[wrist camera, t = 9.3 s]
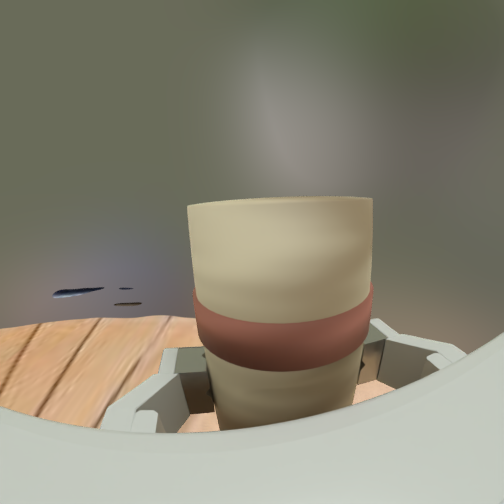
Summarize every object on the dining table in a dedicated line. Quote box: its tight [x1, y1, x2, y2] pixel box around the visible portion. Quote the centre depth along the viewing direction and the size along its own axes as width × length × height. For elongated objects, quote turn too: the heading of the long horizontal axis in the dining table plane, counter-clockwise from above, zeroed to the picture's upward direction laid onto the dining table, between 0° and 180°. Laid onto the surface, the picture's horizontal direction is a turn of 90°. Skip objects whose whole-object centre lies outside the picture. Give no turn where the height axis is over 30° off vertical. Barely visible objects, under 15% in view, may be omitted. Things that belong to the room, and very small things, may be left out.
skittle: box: [187, 196, 373, 431], centre depth 9 cm, size 5×5×12 cm
